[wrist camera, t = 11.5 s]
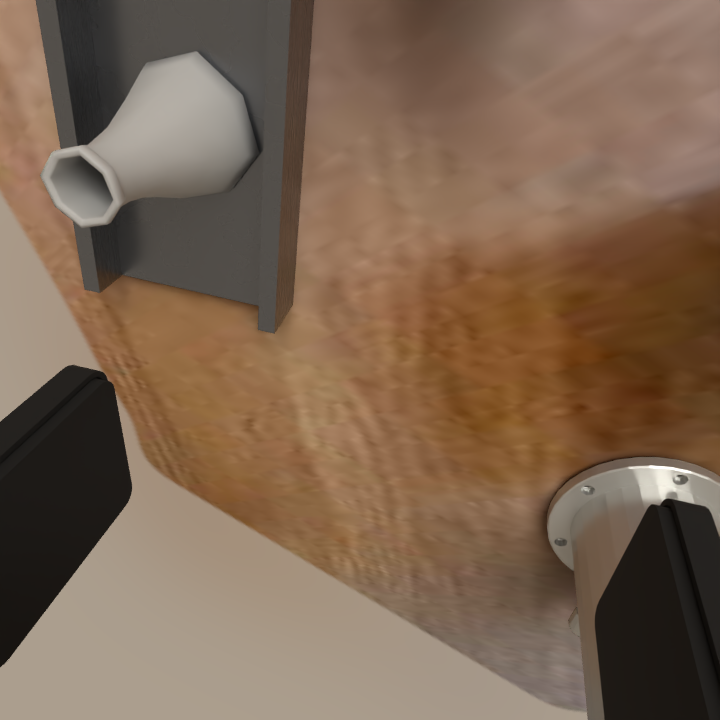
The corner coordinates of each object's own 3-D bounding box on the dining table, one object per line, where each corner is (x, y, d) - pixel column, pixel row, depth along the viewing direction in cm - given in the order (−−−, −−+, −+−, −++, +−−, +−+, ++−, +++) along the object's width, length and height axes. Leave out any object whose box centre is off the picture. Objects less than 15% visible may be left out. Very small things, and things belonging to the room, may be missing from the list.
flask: (284, 159, 31) (202, 232, 23) (185, 216, 34) (83, 297, 26) (201, 21, 28) (74, 48, 20) (102, 97, 31) (-42, 148, 23)
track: (292, 304, 37) (274, 333, 34) (116, 264, 38) (84, 289, 36) (320, -92, 25) (295, -98, 23) (65, -132, 27) (11, -142, 24)
